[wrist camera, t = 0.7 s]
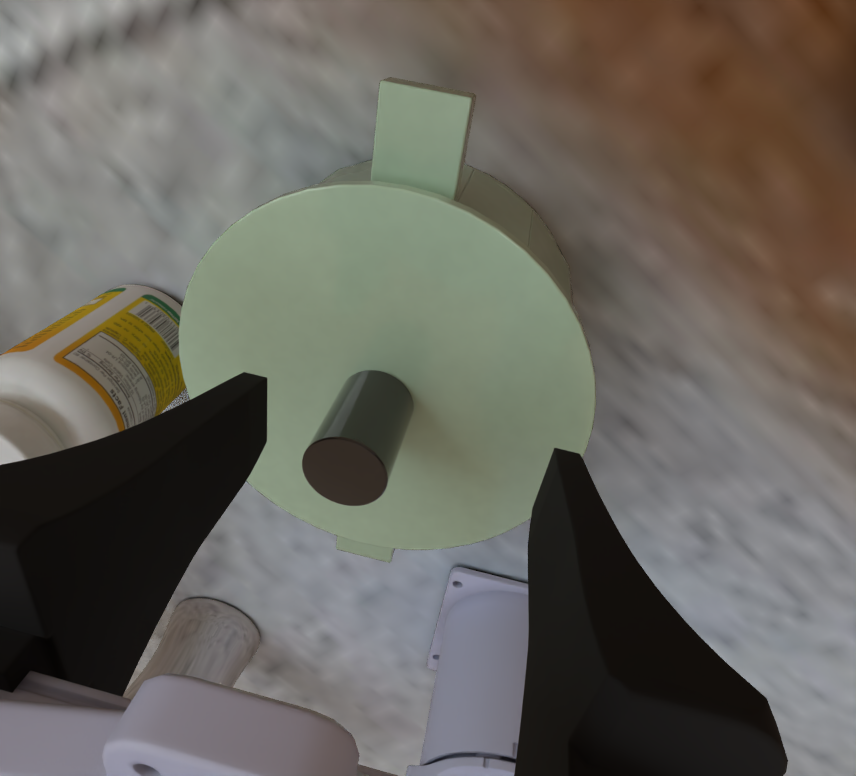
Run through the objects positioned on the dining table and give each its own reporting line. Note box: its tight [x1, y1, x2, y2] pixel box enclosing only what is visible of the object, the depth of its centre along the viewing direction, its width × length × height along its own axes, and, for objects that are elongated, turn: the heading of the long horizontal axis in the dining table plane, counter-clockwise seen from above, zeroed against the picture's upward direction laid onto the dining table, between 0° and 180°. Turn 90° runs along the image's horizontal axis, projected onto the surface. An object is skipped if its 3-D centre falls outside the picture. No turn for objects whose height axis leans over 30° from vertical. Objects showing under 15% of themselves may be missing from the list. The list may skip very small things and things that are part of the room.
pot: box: [317, 77, 574, 563], centre depth 21 cm, size 12×18×6 cm
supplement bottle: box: [0, 285, 186, 465], centre depth 23 cm, size 5×5×10 cm
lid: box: [179, 181, 596, 550], centre depth 18 cm, size 13×13×5 cm
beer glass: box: [122, 598, 260, 700], centre depth 33 cm, size 7×7×15 cm
